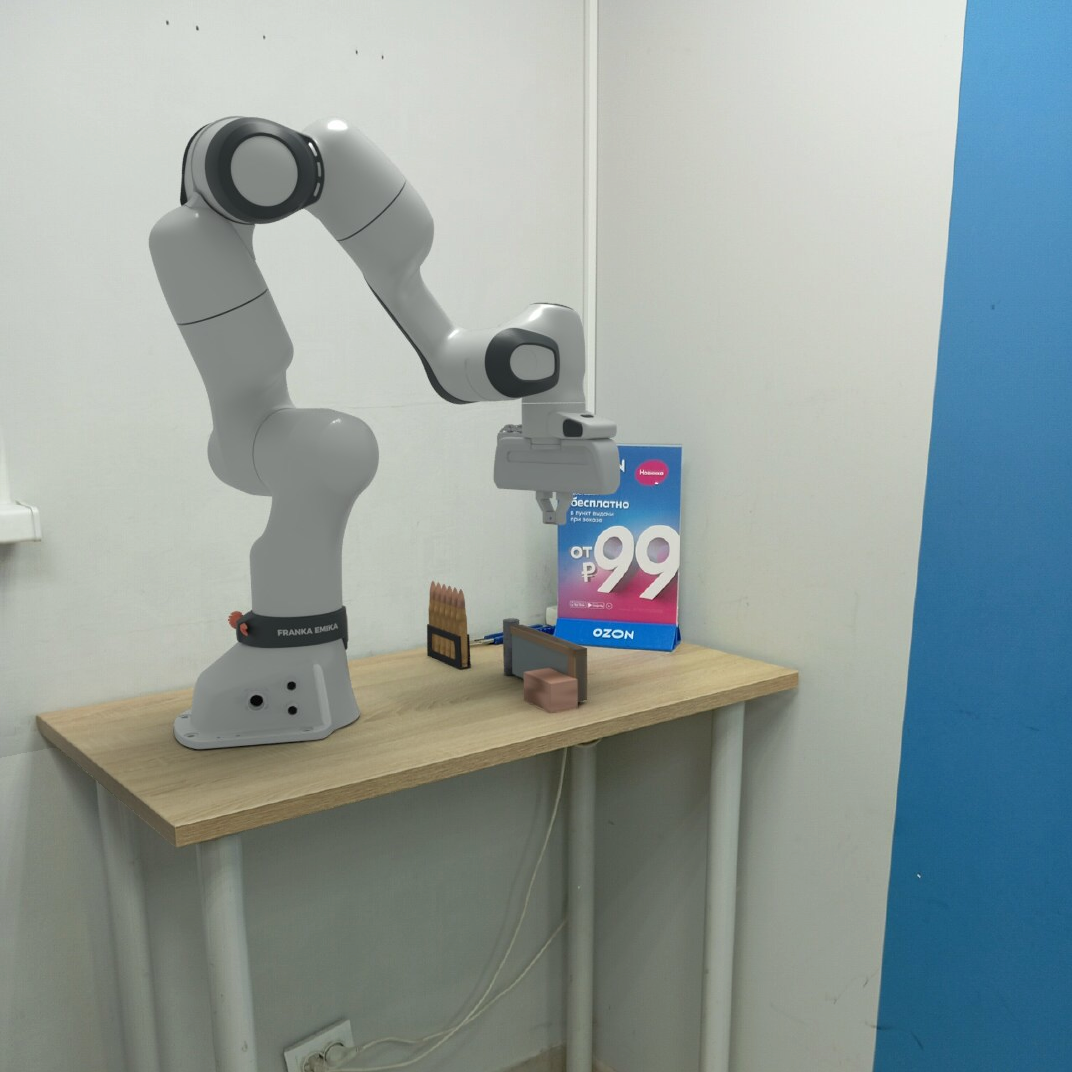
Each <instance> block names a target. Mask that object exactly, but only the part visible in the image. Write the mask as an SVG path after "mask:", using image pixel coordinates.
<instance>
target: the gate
mask: <svg viewBox="0 0 1072 1072" xmlns="http://www.w3.org/2000/svg"><path fill="white" fill-rule="evenodd" d="M510 633H511V634H512V673H513V674H515V675H516V677H519V678H522V679H524V672H526V671H532V670H539V669H545V668H551V669H553V670H556V671H558V672H561V673H563V674H566V675H568V676H570V677H573V678H575V679H577V683H578V703H582V702H584V701H588V647H585V646H582V645H579V644H577V643H574V642H572V641H568V640H566V639H563V638H560V637H557V636H555V635H553V634H550V633H546V632H544V631H541V630H538V629H536V628H533V627H530V626H527V625H524V624H519V625H516V626H510Z"/></svg>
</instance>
